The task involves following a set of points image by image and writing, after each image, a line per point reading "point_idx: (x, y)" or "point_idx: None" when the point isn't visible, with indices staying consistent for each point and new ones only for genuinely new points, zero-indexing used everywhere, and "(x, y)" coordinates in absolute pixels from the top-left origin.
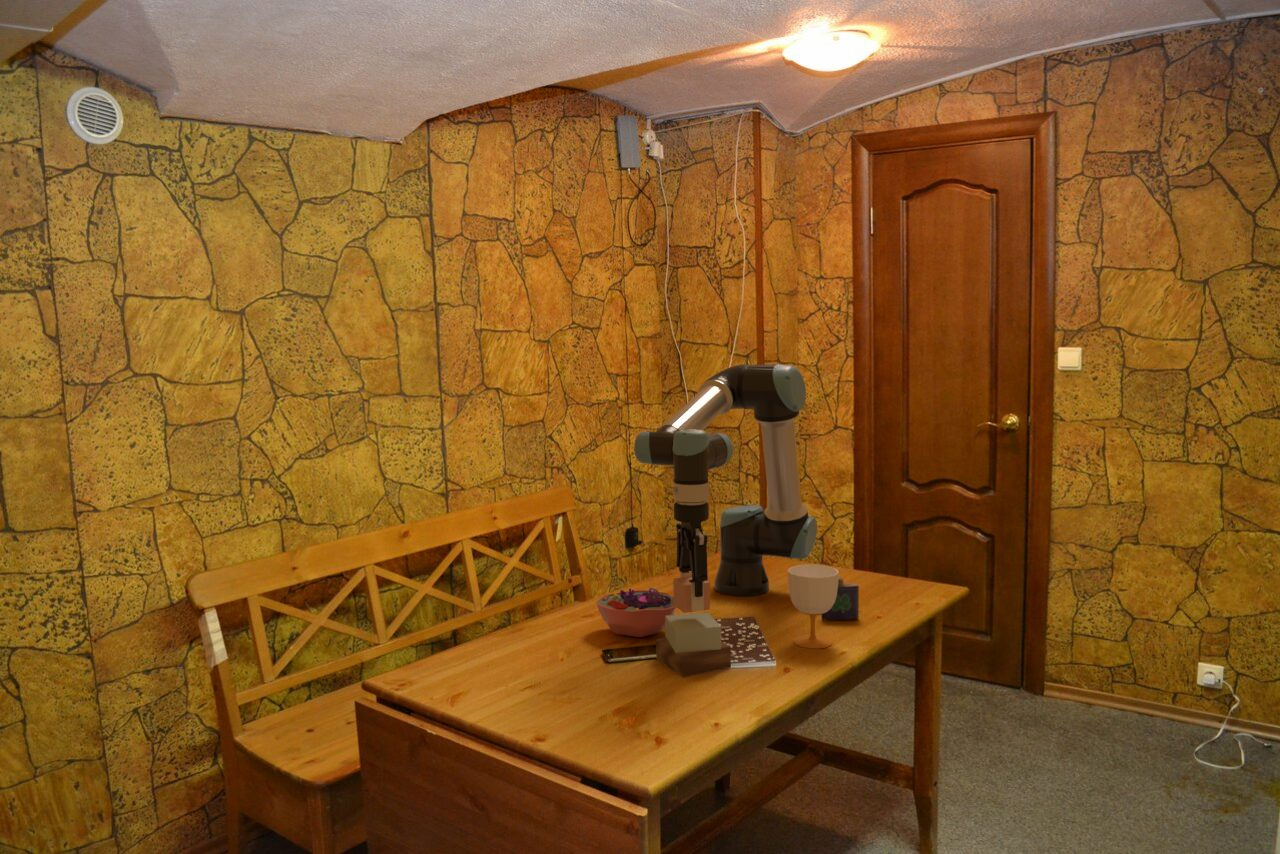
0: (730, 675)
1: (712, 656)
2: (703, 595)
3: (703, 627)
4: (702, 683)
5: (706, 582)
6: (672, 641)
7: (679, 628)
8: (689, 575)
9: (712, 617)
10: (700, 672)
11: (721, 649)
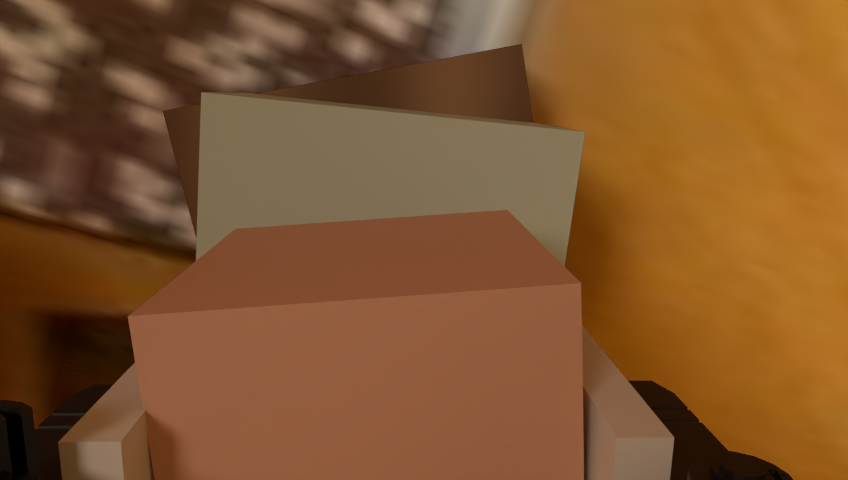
0: (606, 102)
1: None
2: (600, 349)
3: None
4: (646, 271)
5: (559, 330)
6: None
7: None
8: (140, 475)
9: (343, 111)
10: None
11: (530, 116)
